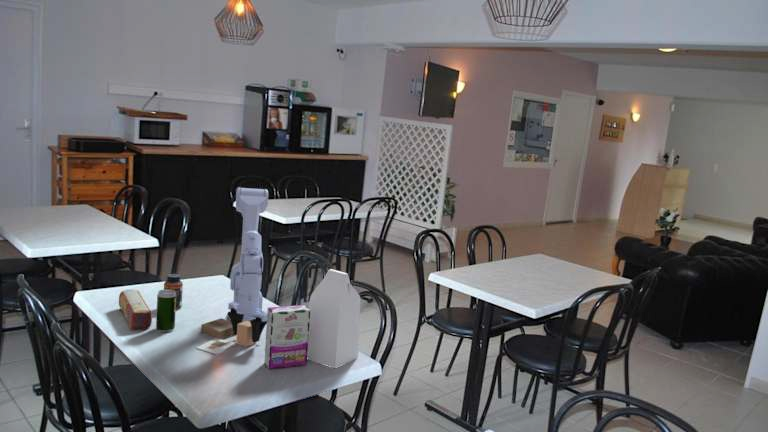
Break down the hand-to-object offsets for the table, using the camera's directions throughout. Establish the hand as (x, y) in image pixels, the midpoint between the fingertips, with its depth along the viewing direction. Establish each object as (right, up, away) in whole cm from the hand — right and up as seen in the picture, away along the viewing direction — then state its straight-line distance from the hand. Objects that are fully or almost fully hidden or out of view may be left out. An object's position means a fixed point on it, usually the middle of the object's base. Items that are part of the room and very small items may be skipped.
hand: (246, 337), depth 181 cm
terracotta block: (0, -2, 0) cm, 2 cm away
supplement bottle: (-30, +5, +23) cm, 38 cm away
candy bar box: (+13, -5, -11) cm, 18 cm away
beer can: (-26, +2, +4) cm, 26 cm away
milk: (+25, -5, -3) cm, 26 cm away
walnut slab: (-9, 0, +6) cm, 11 cm away
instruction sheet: (-8, -2, -4) cm, 9 cm away
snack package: (-37, +4, +11) cm, 39 cm away
